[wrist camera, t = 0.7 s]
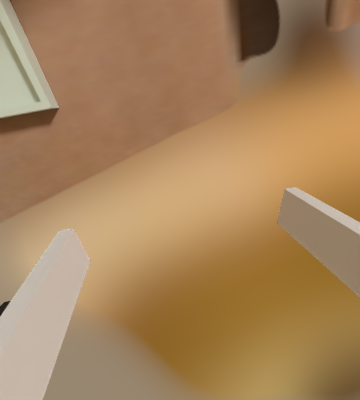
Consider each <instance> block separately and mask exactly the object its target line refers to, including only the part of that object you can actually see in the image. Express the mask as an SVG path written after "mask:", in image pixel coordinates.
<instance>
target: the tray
mask: <svg viewBox="0 0 360 400" xmlns="http://www.w3.org/2000/svg"><path fill="white" fill-rule="evenodd" d="M55 108H59V106H58V104H57V102H56V100H55V98H54V96H53V93H52V91H51V89H50V87H49V85H48V83H47V80H46V78H45V76H44V74H43V72H42V69H41V67H40V65H39V63H38V61H37V59H36V56H35V54H34V52H33V50H32V48H31V46H30V43H29V41H28V39H27V37H26V35H25V33H24V30H23V28H22V26H21V24H20V22H19V20H18V17H17V15H16V13H15V11H14V9H13V7H12V4H11V2H10V0H0V119H2V118H7V117H13V116H18V115H23V114H29V113H34V112H39V111H45V110H50V109H55Z"/></svg>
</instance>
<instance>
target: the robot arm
mask: <svg viewBox="0 0 360 400" xmlns="http://www.w3.org/2000/svg"><path fill="white" fill-rule="evenodd" d="M277 223H278V224H279V225H280V226H281V227H282V228H283V229H284V230H285V231H287V232H288V233H289V234H290V235H291V236H292V237H293V238H294V239H295V240H297V241H298V242H299V243H300V244H301V245H302V246H303V247H304V248H305V249H307V250H308V251H309V252H310V253H311V254H312V255H313V256H314V257H315V258H317V259H318V260H319V261H320V262H321V263H322V264H324V266H325V267H327V268H328V269H329V270H330V271H331V272H332V273H333V274H334V275H336V276H337V277H338V278H339V279H340V280H341V281H342V282H343V283H345V285H347V286H348V287H349V288H350V289H351V290H352V291H353V292H354V293H356V294H357V295H358V296H359V297H360V222H358V221H356V220H354V219H352V218H350V217H349V216H347V215H345V214H343V213H341V212H340V211H338V210H336V209H334V208H332V207H331V206H329V205H327V204H325V203H323V202H322V201H320V200H318V199H316V198H314V197H312V196H311V195H309V194H307V193H305V192H303V191H301V190H300V189H298V188H296V187H294V188H289V189H285V191H284V194H283V199H282V203H281V207H280V212H279V216H278V220H277ZM89 264H90V259H89V257H88V255H87V253H86V251H85V249H84V248H83V246H82V244H81V242H80V240H79V238H78V236H77V234H76V233H75V231H74V229H73V228H70V229H65V230H60V231H58V233H57V234H56V236H55V237H54V239H53V240H52V241H51V243H50V244H49V246H48V247H47V249H46V250H45V252H44V253H43V255H42V256H41V258H40V259H39V261H38V262H37V263H36V265H35V266H34V268H33V269H32V271H31V273H30V274H29V275H28V277H27V278H26V280H25V281H24V283H23V284H22V285H21V287H20V288H19V290H18V291H17V293H16V294H15V296H14V297H13V299H12V300H11V301H8V302H4V303H3V304H2V305H1V306H0V400H43V397H44V394H45V391H46V388H47V385H48V382H49V380H50V377H51V374H52V371H53V368H54V365H55V362H56V359H57V356H58V354H59V351H60V348H61V345H62V342H63V339H64V336H65V334H66V330H67V328H68V325H69V322H70V319H71V316H72V313H73V310H74V308H75V304H76V302H77V299H78V296H79V293H80V290H81V287H82V284H83V282H84V279H85V276H86V273H87V270H88V267H89Z"/></svg>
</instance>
